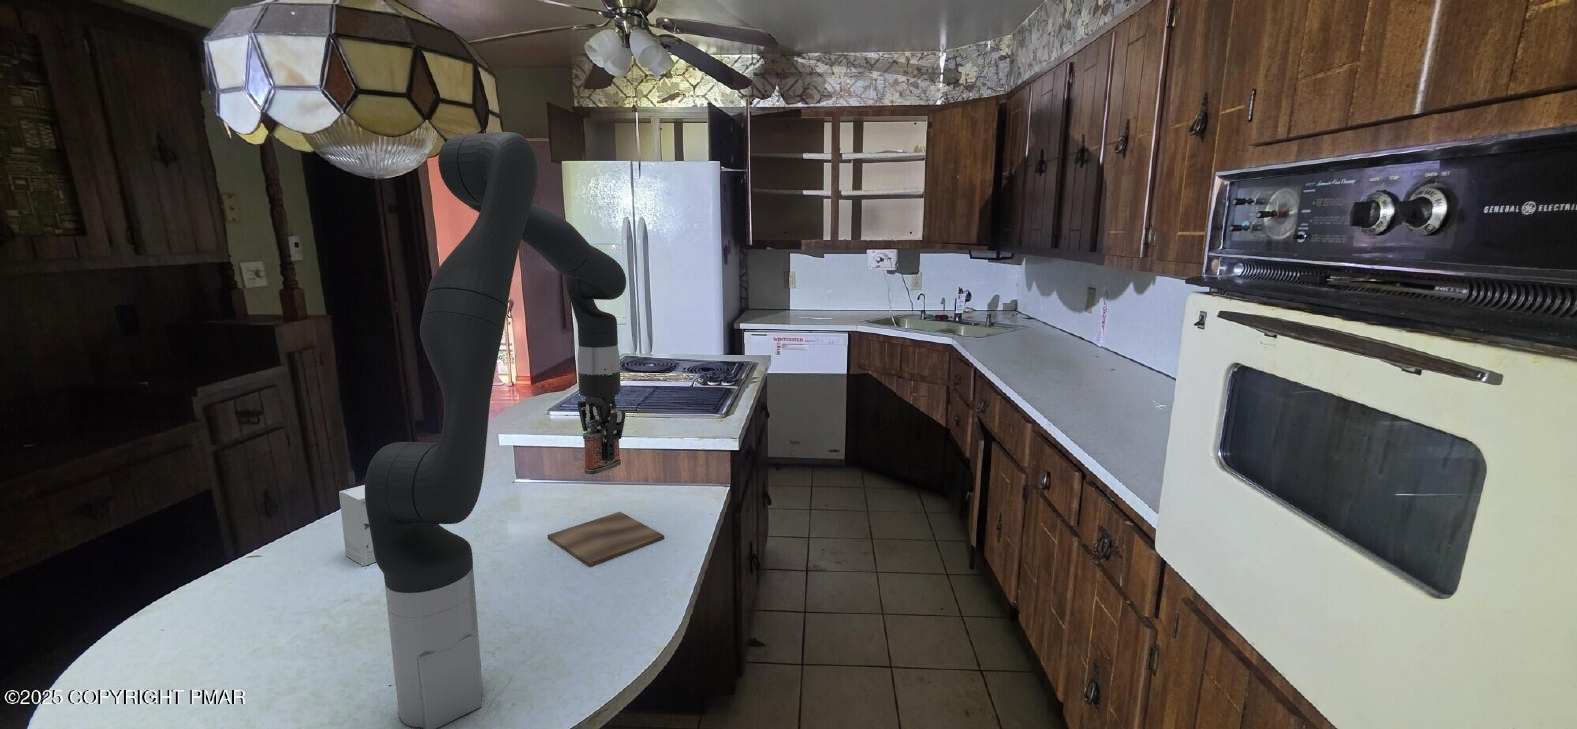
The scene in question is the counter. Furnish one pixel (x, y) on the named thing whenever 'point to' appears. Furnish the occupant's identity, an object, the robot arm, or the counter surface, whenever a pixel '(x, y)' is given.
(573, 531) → the board
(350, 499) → the supplement box
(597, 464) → the lighter
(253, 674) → the counter surface
